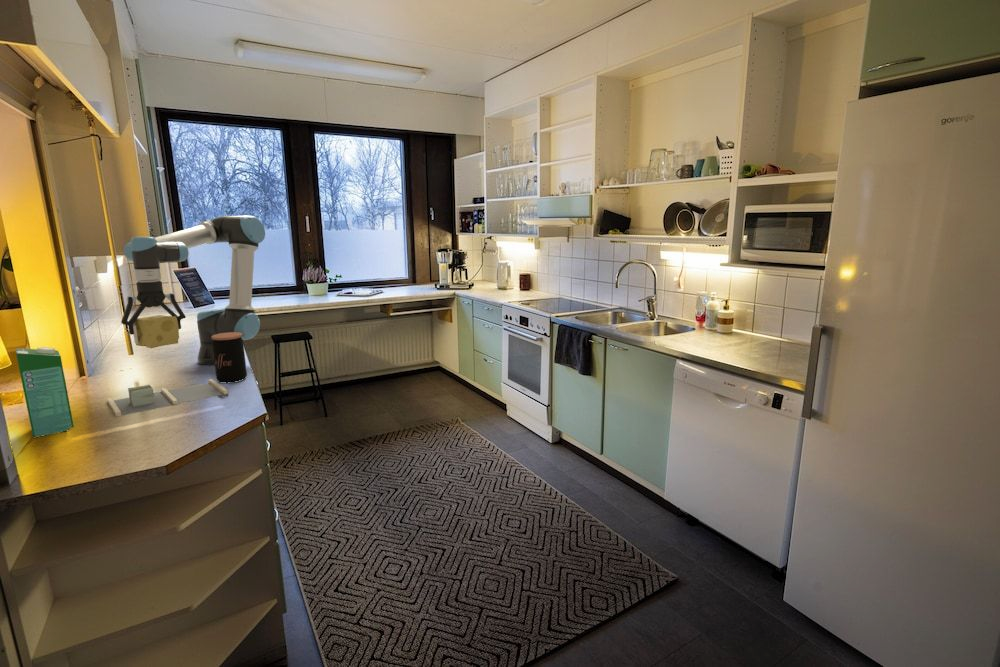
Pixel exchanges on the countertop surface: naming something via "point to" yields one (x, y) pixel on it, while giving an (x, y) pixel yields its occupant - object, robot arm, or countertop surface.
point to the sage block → (141, 395)
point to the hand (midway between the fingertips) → (157, 340)
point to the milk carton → (44, 390)
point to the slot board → (170, 397)
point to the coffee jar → (229, 357)
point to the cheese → (157, 331)
